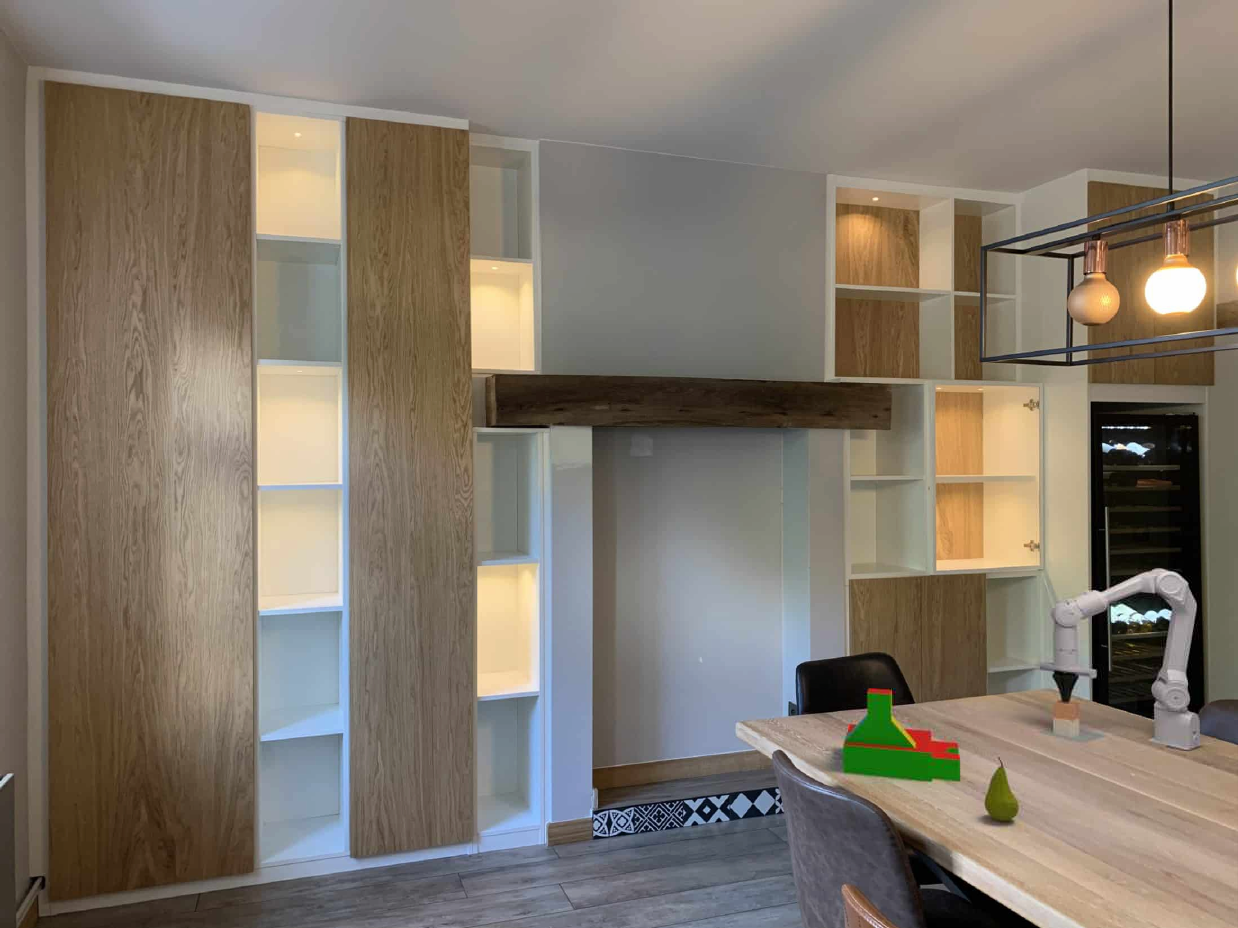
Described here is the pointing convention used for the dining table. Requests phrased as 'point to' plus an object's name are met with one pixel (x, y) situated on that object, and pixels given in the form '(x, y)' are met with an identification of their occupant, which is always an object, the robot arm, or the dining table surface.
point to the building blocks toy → (896, 747)
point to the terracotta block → (1066, 710)
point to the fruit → (1001, 797)
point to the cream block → (1066, 727)
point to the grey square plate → (1082, 737)
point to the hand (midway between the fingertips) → (1065, 701)
